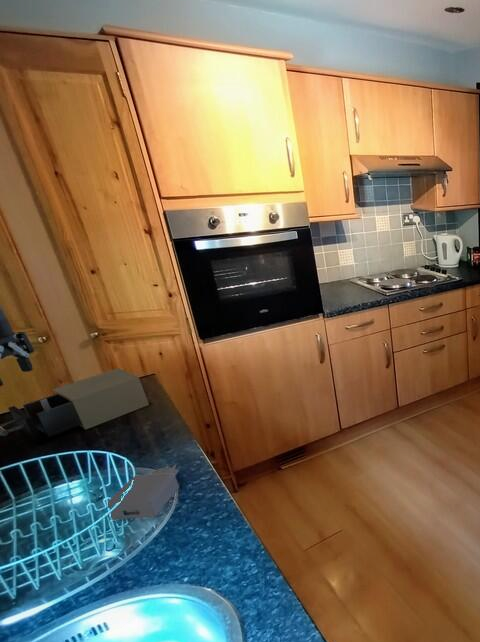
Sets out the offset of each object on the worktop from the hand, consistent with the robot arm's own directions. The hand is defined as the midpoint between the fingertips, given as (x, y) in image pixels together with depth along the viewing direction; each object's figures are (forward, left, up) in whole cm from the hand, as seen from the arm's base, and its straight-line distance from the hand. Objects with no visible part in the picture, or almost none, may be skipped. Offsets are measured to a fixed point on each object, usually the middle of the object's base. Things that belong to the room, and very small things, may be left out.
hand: (13, 378), depth 117 cm
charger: (+3, -53, -18) cm, 56 cm away
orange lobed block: (+3, 0, -12) cm, 13 cm away
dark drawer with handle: (+3, 0, -17) cm, 17 cm away
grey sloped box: (+15, 0, -18) cm, 24 cm away
